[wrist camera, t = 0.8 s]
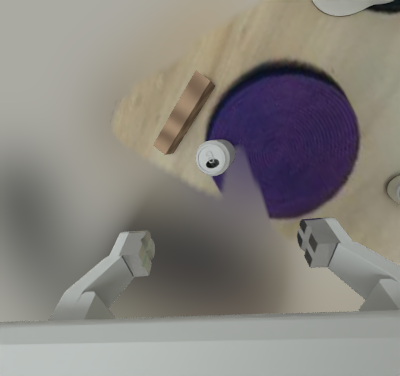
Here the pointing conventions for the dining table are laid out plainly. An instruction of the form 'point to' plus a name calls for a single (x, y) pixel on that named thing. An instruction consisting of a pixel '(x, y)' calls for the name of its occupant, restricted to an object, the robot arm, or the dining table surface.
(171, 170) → the dining table surface
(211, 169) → the can
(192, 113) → the wooden block
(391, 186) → the plastic bottle
